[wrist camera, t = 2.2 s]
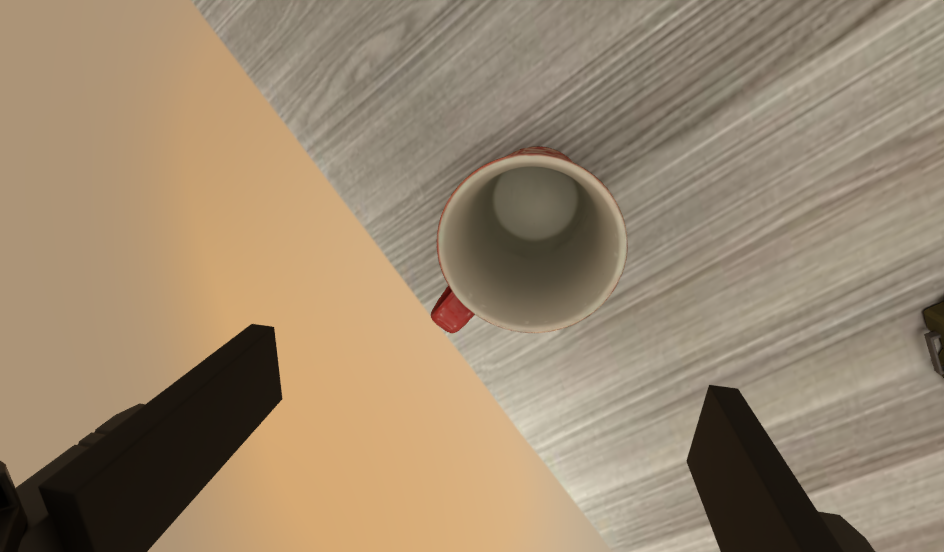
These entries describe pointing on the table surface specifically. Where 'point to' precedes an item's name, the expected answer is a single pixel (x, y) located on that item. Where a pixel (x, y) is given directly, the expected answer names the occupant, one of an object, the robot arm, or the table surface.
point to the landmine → (935, 335)
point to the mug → (528, 244)
